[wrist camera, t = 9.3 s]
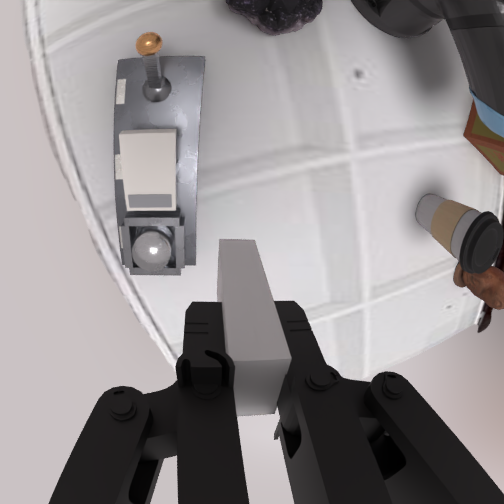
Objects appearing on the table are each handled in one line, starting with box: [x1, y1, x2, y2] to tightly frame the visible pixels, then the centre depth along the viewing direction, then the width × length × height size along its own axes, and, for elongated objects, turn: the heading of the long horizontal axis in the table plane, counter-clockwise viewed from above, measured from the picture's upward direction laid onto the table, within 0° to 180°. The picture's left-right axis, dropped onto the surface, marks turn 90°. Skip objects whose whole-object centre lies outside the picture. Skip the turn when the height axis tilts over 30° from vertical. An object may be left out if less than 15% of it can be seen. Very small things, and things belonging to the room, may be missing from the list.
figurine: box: [453, 261, 504, 310], centre depth 45 cm, size 9×10×15 cm
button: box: [132, 226, 173, 271], centre depth 33 cm, size 4×4×4 cm
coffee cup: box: [416, 194, 503, 274], centre depth 36 cm, size 9×9×15 cm
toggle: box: [136, 32, 162, 88], centre depth 22 cm, size 2×2×8 cm
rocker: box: [119, 129, 177, 211], centre depth 28 cm, size 9×6×1 cm, turn 174°
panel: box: [114, 56, 205, 275], centre depth 31 cm, size 26×10×5 cm, turn 175°
